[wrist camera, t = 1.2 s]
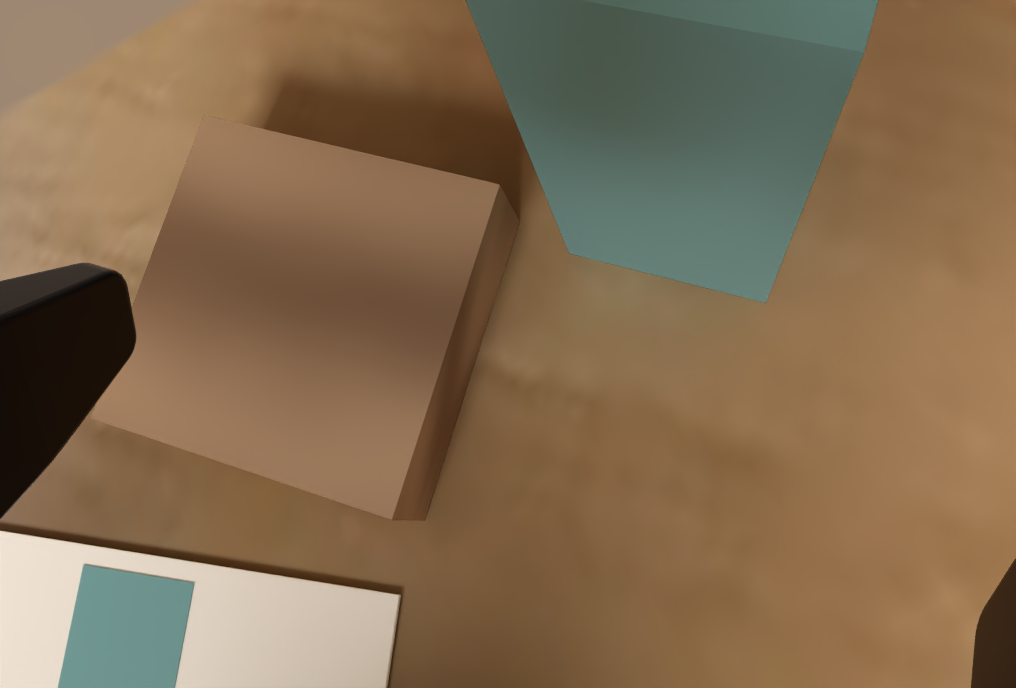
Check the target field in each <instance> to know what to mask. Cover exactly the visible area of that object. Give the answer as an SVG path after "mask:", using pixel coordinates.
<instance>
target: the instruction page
mask: <svg viewBox="0 0 1016 688" xmlns="http://www.w3.org/2000/svg"><path fill="white" fill-rule="evenodd" d="M400 598H401V595H399V594H392V593H386V592H380V591H374V590H368V589H361V588H355V587H349V586H343V585H337V584H330V583H324V582H318V581H312V580H305V579H299V578H293V577H287V576H281V575H274V574H268V573H262V572H256V571H250V570H243V569H237V568H231V567H225V566H219V565H212V564H206V563H200V562H194V561H187V560H181V559H175V558H169V557H163V556H156V555H150V554H144V553H138V552H132V551H125V550H119V549H113V548H107V547H100V546H94V545H88V544H82V543H76V542H69V541H63V540H57V539H51V538H45V537H38V536H32V535H26V534H20V533H13V532H7V531H1V530H0V688H387V686H388V679H389V672H390V665H391V659H392V652H393V645H394V638H395V632H396V625H397V618H398V611H399V605H400Z"/></svg>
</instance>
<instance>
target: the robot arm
mask: <svg viewBox="0 0 1016 688" xmlns="http://www.w3.org/2000/svg"><path fill="white" fill-rule="evenodd" d="M136 337H137V335H136V328H135V323H134V318H133V313H132V308H131V302H130V297H129V292H128V287H127V283H126V281H125V279H124V278H123V276H122V275H121V274H120V273H118V272H117V271H115V270H111V269H108V268H105V267H101V266H98V265H95V264H91V263H78V264H74V265H69V266H65V267H61V268H56V269H52V270H47V271H43V272H38V273H34V274H30V275H25V276H21V277H16V278H12V279H8V280H3V281H0V519H1V518H2V517H3V516H4V515H5V514H6V513H7V512H8V510H9V509H10V508H11V507H12V506H13V505H14V504H15V503H16V502H17V501H18V499H19V498H20V497H21V496H22V495H23V494H24V493H25V492H26V491H27V490H28V488H29V487H30V486H31V485H32V484H33V483H34V482H35V481H36V480H37V479H38V477H39V476H40V475H41V474H42V473H43V472H44V470H45V469H46V468H47V467H48V466H49V465H50V463H51V462H52V461H53V460H54V458H55V457H56V456H57V455H58V453H59V452H60V451H61V450H62V448H63V447H64V446H65V444H66V443H67V442H68V440H69V439H70V438H71V436H72V435H73V434H74V432H75V431H76V430H77V428H78V427H79V426H80V424H81V423H82V421H83V420H84V419H85V417H86V416H87V415H88V413H89V412H90V411H91V409H92V408H93V407H94V405H95V404H96V403H97V401H98V400H99V399H100V397H101V396H102V395H103V393H104V392H105V391H106V389H107V388H108V386H109V385H110V384H111V382H112V381H113V380H114V378H115V377H116V376H117V374H118V373H119V372H120V370H121V369H122V368H123V366H124V365H125V364H126V362H127V361H128V360H129V358H130V357H131V355H132V353H133V351H134V348H135V344H136ZM971 688H1016V559H1015V560H1014V561H1013V563H1012V564H1011V566H1010V568H1009V569H1008V571H1007V572H1006V574H1005V575H1004V577H1003V579H1002V580H1001V582H1000V583H999V585H998V586H997V588H996V590H995V591H994V593H993V594H992V596H991V598H990V599H989V601H988V602H987V604H986V605H985V607H984V609H983V611H982V613H981V615H980V618H979V621H978V624H977V629H976V635H975V645H974V657H973V668H972V680H971Z"/></svg>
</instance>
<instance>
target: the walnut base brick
mask: <svg viewBox="0 0 1016 688" xmlns="http://www.w3.org/2000/svg"><path fill="white" fill-rule="evenodd" d="M519 222H520V221H519V219H518V217H517V215H516V213H515V212H514V210H513V208H512V206H511V204H510V202H509V200H508V199H507V197H506V195H505V193H504V191H503V189H502V187H501V186H500V184H496V183H492V182H488V181H483V180H479V179H475V178H471V177H466V176H462V175H458V174H453V173H449V172H445V171H441V170H436V169H432V168H428V167H424V166H419V165H415V164H411V163H407V162H402V161H398V160H394V159H389V158H385V157H381V156H377V155H372V154H368V153H364V152H360V151H355V150H351V149H347V148H343V147H338V146H334V145H330V144H325V143H321V142H317V141H313V140H308V139H304V138H300V137H296V136H291V135H287V134H283V133H278V132H274V131H270V130H266V129H261V128H257V127H253V126H249V125H244V124H240V123H236V122H232V121H227V120H223V119H219V118H214V117H210V116H206V115H204V116H203V118H202V121H201V124H200V127H199V129H198V132H197V135H196V137H195V140H194V143H193V145H192V148H191V151H190V153H189V156H188V159H187V161H186V164H185V167H184V169H183V172H182V175H181V177H180V180H179V183H178V185H177V188H176V191H175V193H174V196H173V199H172V201H171V204H170V207H169V210H168V212H167V215H166V218H165V220H164V223H163V226H162V228H161V231H160V234H159V236H158V239H157V242H156V244H155V247H154V250H153V252H152V255H151V258H150V260H149V263H148V266H147V268H146V271H145V274H144V276H143V279H142V282H141V284H140V287H139V290H138V292H137V295H136V298H135V301H134V303H133V306H132V313H133V318H134V323H135V328H136V335H137V337H136V344H135V348H134V351H133V353H132V355H131V357H130V358H129V360H128V361H127V362H126V364H125V365H124V366H123V368H122V369H121V370H120V372H119V373H118V374H117V376H116V377H115V378H114V380H113V381H112V382H111V384H110V385H109V386H108V388H107V389H106V391H105V392H104V393H103V395H102V396H101V397H100V399H99V400H98V401H97V403H96V405H95V408H94V410H93V413H92V416H91V418H92V419H95V420H97V421H100V422H103V423H106V424H109V425H112V426H115V427H118V428H121V429H124V430H127V431H130V432H133V433H136V434H139V435H142V436H145V437H148V438H151V439H154V440H157V441H160V442H162V443H165V444H168V445H171V446H174V447H177V448H180V449H183V450H186V451H189V452H192V453H195V454H198V455H201V456H204V457H207V458H210V459H213V460H216V461H219V462H222V463H225V464H227V465H230V466H233V467H236V468H239V469H242V470H245V471H248V472H251V473H254V474H257V475H260V476H263V477H266V478H269V479H272V480H275V481H278V482H281V483H284V484H287V485H290V486H292V487H295V488H298V489H301V490H304V491H307V492H310V493H313V494H316V495H319V496H322V497H325V498H328V499H331V500H334V501H337V502H340V503H343V504H346V505H349V506H352V507H355V508H357V509H360V510H363V511H366V512H369V513H372V514H375V515H378V516H381V517H384V518H387V519H390V520H425V518H426V515H427V512H428V509H429V505H430V502H431V499H432V496H433V493H434V490H435V487H436V483H437V480H438V477H439V474H440V471H441V468H442V464H443V461H444V458H445V455H446V452H447V449H448V446H449V442H450V439H451V436H452V433H453V430H454V427H455V424H456V420H457V417H458V414H459V411H460V408H461V405H462V402H463V398H464V395H465V392H466V389H467V386H468V383H469V380H470V376H471V373H472V370H473V367H474V364H475V361H476V357H477V354H478V351H479V348H480V345H481V342H482V339H483V335H484V332H485V329H486V326H487V323H488V320H489V317H490V313H491V310H492V307H493V304H494V301H495V298H496V295H497V291H498V288H499V285H500V282H501V279H502V276H503V273H504V269H505V266H506V263H507V260H508V257H509V254H510V251H511V247H512V244H513V241H514V238H515V235H516V232H517V228H518V225H519Z"/></svg>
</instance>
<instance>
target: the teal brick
mask: <svg viewBox="0 0 1016 688" xmlns="http://www.w3.org/2000/svg"><path fill="white" fill-rule="evenodd" d="M466 2H467V5H468V7H469V10H470V12H471V14H472V17H473V19H474V22H475V24H476V27H477V29H478V32H479V34H480V36H481V39H482V41H483V44H484V46H485V49H486V51H487V54H488V56H489V58H490V61H491V63H492V66H493V68H494V71H495V73H496V76H497V78H498V80H499V83H500V85H501V88H502V90H503V93H504V95H505V98H506V100H507V102H508V105H509V107H510V110H511V112H512V115H513V117H514V120H515V122H516V124H517V127H518V129H519V132H520V134H521V137H522V139H523V142H524V144H525V146H526V149H527V151H528V154H529V156H530V159H531V161H532V164H533V166H534V168H535V171H536V173H537V176H538V178H539V181H540V183H541V186H542V188H543V190H544V193H545V195H546V198H547V200H548V203H549V205H550V208H551V210H552V212H553V215H554V217H555V220H556V222H557V225H558V227H559V230H560V232H561V234H562V237H563V239H564V242H565V244H566V247H567V249H568V252H569V254H573V255H577V256H581V257H585V258H589V259H593V260H597V261H601V262H605V263H609V264H613V265H617V266H621V267H625V268H629V269H633V270H637V271H641V272H645V273H649V274H653V275H657V276H661V277H665V278H669V279H673V280H677V281H680V282H684V283H688V284H692V285H696V286H700V287H704V288H708V289H712V290H716V291H720V292H724V293H728V294H732V295H736V296H740V297H744V298H748V299H752V300H756V301H760V302H764V303H766V301H767V299H768V296H769V294H770V291H771V288H772V286H773V283H774V281H775V278H776V276H777V273H778V271H779V268H780V266H781V263H782V260H783V258H784V255H785V253H786V250H787V248H788V245H789V243H790V240H791V238H792V235H793V232H794V230H795V227H796V225H797V222H798V220H799V217H800V215H801V212H802V210H803V207H804V205H805V202H806V199H807V197H808V194H809V192H810V189H811V187H812V184H813V182H814V179H815V177H816V174H817V171H818V169H819V166H820V164H821V161H822V159H823V156H824V154H825V151H826V149H827V146H828V143H829V141H830V138H831V136H832V133H833V131H834V128H835V126H836V123H837V121H838V118H839V115H840V113H841V110H842V108H843V105H844V103H845V100H846V98H847V95H848V93H849V90H850V87H851V85H852V82H853V80H854V77H855V75H856V72H857V70H858V67H859V65H860V62H861V59H862V57H863V54H864V52H865V48H866V44H867V41H868V37H869V33H870V30H871V26H872V22H873V19H874V15H875V11H876V8H877V4H878V0H466Z"/></svg>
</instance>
